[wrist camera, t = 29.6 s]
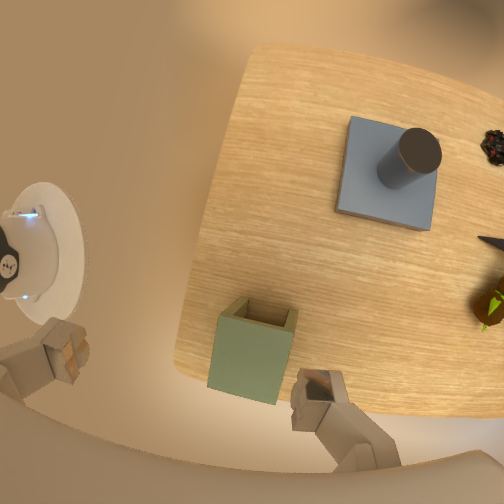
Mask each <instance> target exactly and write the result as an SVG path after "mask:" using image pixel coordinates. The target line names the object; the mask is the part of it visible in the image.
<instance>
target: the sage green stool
mask: <svg viewBox="0 0 504 504" xmlns="http://www.w3.org/2000/svg"><path fill="white" fill-rule="evenodd" d="M248 301H249V299H246V298H242V297H240V298H239V299H238V300H237V301H236V302H234V303H233V304H232V305H231V306H230V307H228V308H227V309H226V310H225V311H224V312H222V313H221V314H220V315H219V318H218V324H217V330H216V336H215V342H214V347H213V353H212V359H211V365H210V371H209V378H208V384H207V387H209V388H212V389H215V390H219V391H222V392H226V393H229V394H233V395H236V396H240V397H244V398H248V399H251V400H255V401H260V402H264V403H268V404H273V405H276V401H277V398H278V394H279V391H280V387H281V383H282V380H283V376H284V372H285V368H286V364H287V361H288V357H289V353H290V349H291V345H292V341H293V337H294V333H295V327H296V322H297V316H298V310H295V309H290V310H289V313H288V316H287V319H286V322H285V326H284V327H280V326H276V325H271V324H267V323H263V322H258V321H254V320H250V319H246V318H245V316H246V311H247V306H248Z"/></svg>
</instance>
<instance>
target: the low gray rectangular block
mask: <svg viewBox="0 0 504 504" xmlns="http://www.w3.org/2000/svg"><path fill="white" fill-rule="evenodd" d="M406 130H407V129H404V128H400V127H397V126H393V125H389V124H385V123H381V122H377V121H373V120H368V119H364V118H360V117H355V116H351V118H350V121H349V125H348V130H347V137H346V145H345V152H344V159H343V165H342V172H341V178H340V184H339V190H338V196H337V202H336V208H335V212H338V213H342V214H347V215H352V216H356V217H361V218H365V219H370V220H374V221H379V222H383V223H387V224H391V225H396V226H400V227H404V228H408V229H412V230H416V231H430V227H431V220H432V213H433V206H434V198H435V189H436V179H437V169H436V170H435V171H434V172H432V173H430V174H428V175H426V176H425V177H423V178H421V179H419V180H417V181H415V182H413V183H412V184H410V185H408V186H406V187H404V188H402V189H399V190H392V189H389V188H387V187H385V186H384V185H383V184H382V183H381V181H380V180H379V178H378V175H377V165H378V163H379V161H380V159H381V158H382V157H383V156H384V155H385V154H386V153H387V151H388V150H389V149H390V148H391V147H392V146H393V145H394V143H395V142H396V141H397V140H398V139H399V138H400V136H401V135H402V134H403V133H404V132H405V131H406ZM436 139H437V138H436ZM437 141H438V143H439V139H437Z"/></svg>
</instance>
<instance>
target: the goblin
mask: <svg viewBox="0 0 504 504" xmlns="http://www.w3.org/2000/svg"><path fill="white" fill-rule="evenodd" d="M477 237H478V238H480V239H482V240H484V241H486V242H488V243H490V244H491V245H493V246H495V247H497V248H499V249H501V250H503V251H504V239H498V238H491V237H485V236H477ZM473 309H474V313H475V315H476V316H477V318H478V319H479V320H480V321H481V322H482V323H484V326H483V330H482V332H483V331H484V330H485V328H486V327H487V326H492V325H495V324H498V323H500V322H501V321H502V319H503V318H504V277H503V276H502V278H501V279H500V282H499V284H498V287H496V288H495V289H493V290H489V291H488V292H487V293H486V294H485V295H483V296H482V297H481V298H480V299H478V300H476V302H475V304H474V307H473Z"/></svg>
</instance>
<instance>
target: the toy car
mask: <svg viewBox="0 0 504 504" xmlns="http://www.w3.org/2000/svg"><path fill="white" fill-rule="evenodd" d="M500 131H501V130H495V131H492V130H490V131H488V132H486V134H487V135H488V137H487V138H485V140H484V141H483V143H482V144H481V146H482V147H483V148H484V150H485V151H486V152H488V153H487V154H489V156H490V157H491V158H489V160H490V161H491V162H492V163H493V164H495V165H497V166H502V165H504V134H503V132H500ZM499 148H500V149H499Z"/></svg>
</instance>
